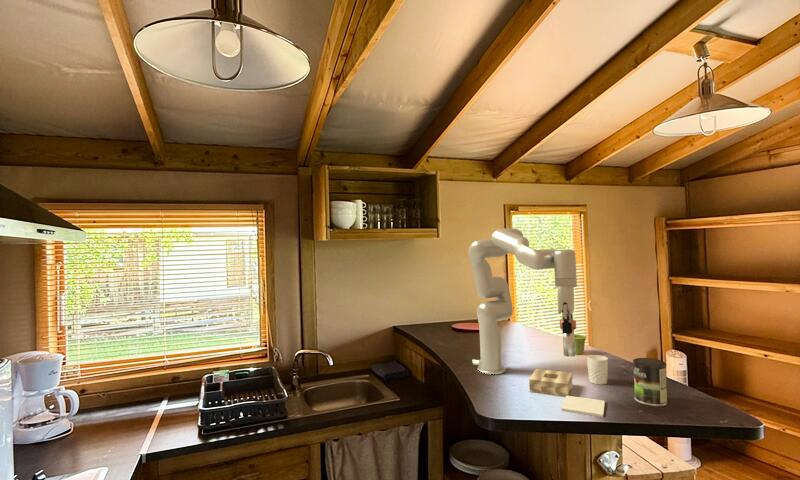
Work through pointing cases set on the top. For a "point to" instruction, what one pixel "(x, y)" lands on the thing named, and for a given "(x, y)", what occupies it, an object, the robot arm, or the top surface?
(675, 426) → the top surface
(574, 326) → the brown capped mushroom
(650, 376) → the coffee can
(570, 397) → the pad
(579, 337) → the plant pot
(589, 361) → the white cup
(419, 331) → the top surface
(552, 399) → the top surface
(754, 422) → the top surface
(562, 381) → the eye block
